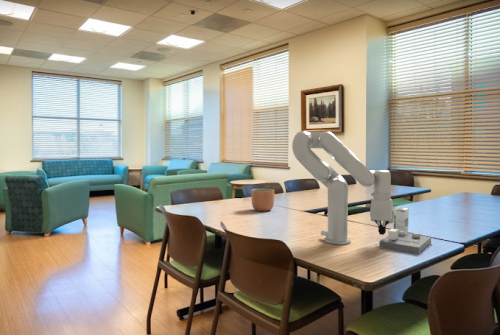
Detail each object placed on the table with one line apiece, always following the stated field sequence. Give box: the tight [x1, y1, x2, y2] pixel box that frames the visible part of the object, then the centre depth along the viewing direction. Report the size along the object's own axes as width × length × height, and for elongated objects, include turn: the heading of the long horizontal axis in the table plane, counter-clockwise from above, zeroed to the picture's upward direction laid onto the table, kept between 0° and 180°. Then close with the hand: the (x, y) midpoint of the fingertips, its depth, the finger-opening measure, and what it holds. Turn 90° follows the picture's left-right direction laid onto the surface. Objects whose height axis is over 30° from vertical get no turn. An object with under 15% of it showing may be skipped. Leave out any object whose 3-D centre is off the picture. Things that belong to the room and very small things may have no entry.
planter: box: [250, 188, 275, 212], centre depth 265 cm, size 17×17×15 cm
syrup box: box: [393, 206, 410, 234], centre depth 188 cm, size 6×6×14 cm
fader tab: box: [387, 228, 398, 240], centre depth 169 cm, size 3×5×4 cm, turn 141°
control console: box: [379, 231, 432, 255], centre depth 169 cm, size 17×22×5 cm
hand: (382, 234), depth 172 cm, fingers closed
